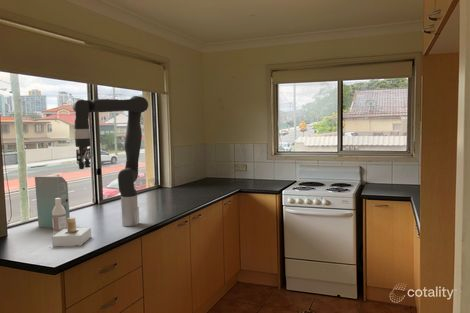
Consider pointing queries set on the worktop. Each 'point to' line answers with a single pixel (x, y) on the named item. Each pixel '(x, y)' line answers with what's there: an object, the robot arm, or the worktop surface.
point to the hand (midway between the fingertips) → (84, 168)
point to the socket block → (71, 237)
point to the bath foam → (58, 217)
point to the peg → (71, 225)
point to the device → (50, 197)
